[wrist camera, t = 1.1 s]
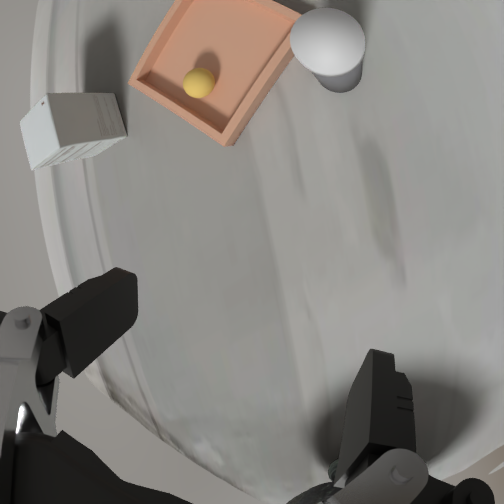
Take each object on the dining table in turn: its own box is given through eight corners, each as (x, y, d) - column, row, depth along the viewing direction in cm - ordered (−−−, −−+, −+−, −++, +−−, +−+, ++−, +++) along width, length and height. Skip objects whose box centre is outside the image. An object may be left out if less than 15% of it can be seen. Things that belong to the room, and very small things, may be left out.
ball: (202, 65, 33) (187, 60, 30) (225, 78, 33) (212, 74, 30) (187, 90, 35) (171, 87, 32) (209, 104, 35) (195, 102, 31)
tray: (206, -21, 29) (195, -29, 27) (314, 27, 28) (311, 19, 26) (140, 84, 37) (127, 83, 34) (233, 145, 36) (223, 146, 34)
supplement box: (83, 114, 41) (17, 120, 30) (115, 92, 38) (46, 91, 27) (95, 157, 43) (29, 172, 32) (129, 138, 40) (59, 147, 29)
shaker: (331, 39, 28) (315, -4, 17) (373, 67, 28) (379, 33, 17) (304, 76, 31) (275, 48, 20) (345, 104, 31) (338, 87, 20)
